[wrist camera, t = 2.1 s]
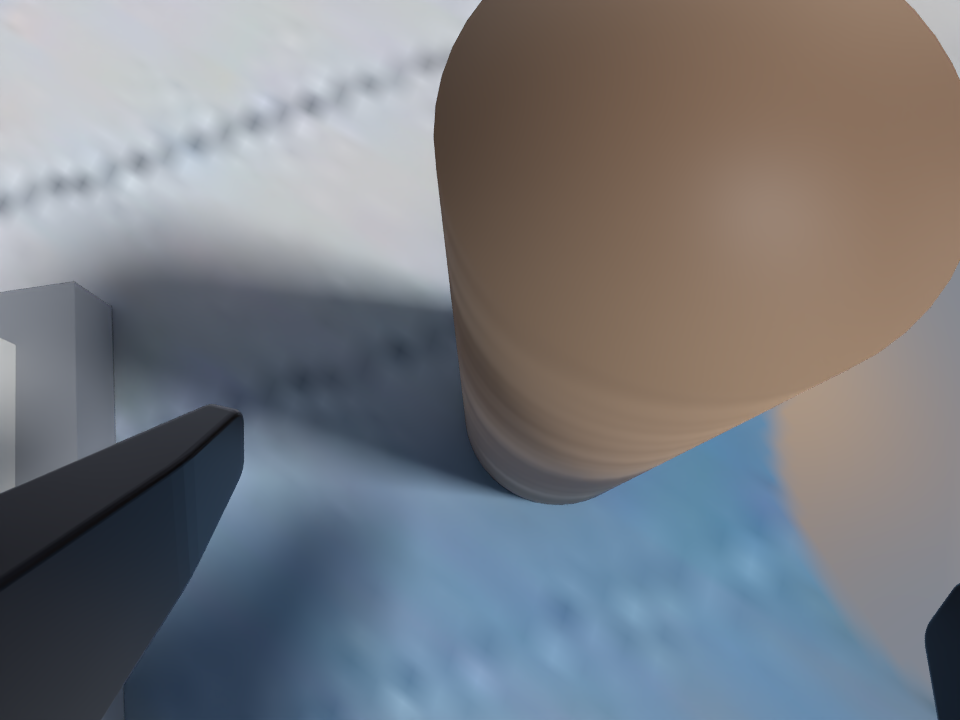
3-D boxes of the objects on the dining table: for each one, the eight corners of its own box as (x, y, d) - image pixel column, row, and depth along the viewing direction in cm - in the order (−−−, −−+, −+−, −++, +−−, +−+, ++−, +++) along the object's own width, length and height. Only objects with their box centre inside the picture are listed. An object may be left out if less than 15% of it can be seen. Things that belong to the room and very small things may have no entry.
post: (664, 489, 20) (1059, 348, 6) (480, 518, 20) (480, 438, 6) (626, 314, 21) (888, -119, 8) (453, 339, 21) (401, -56, 7)
